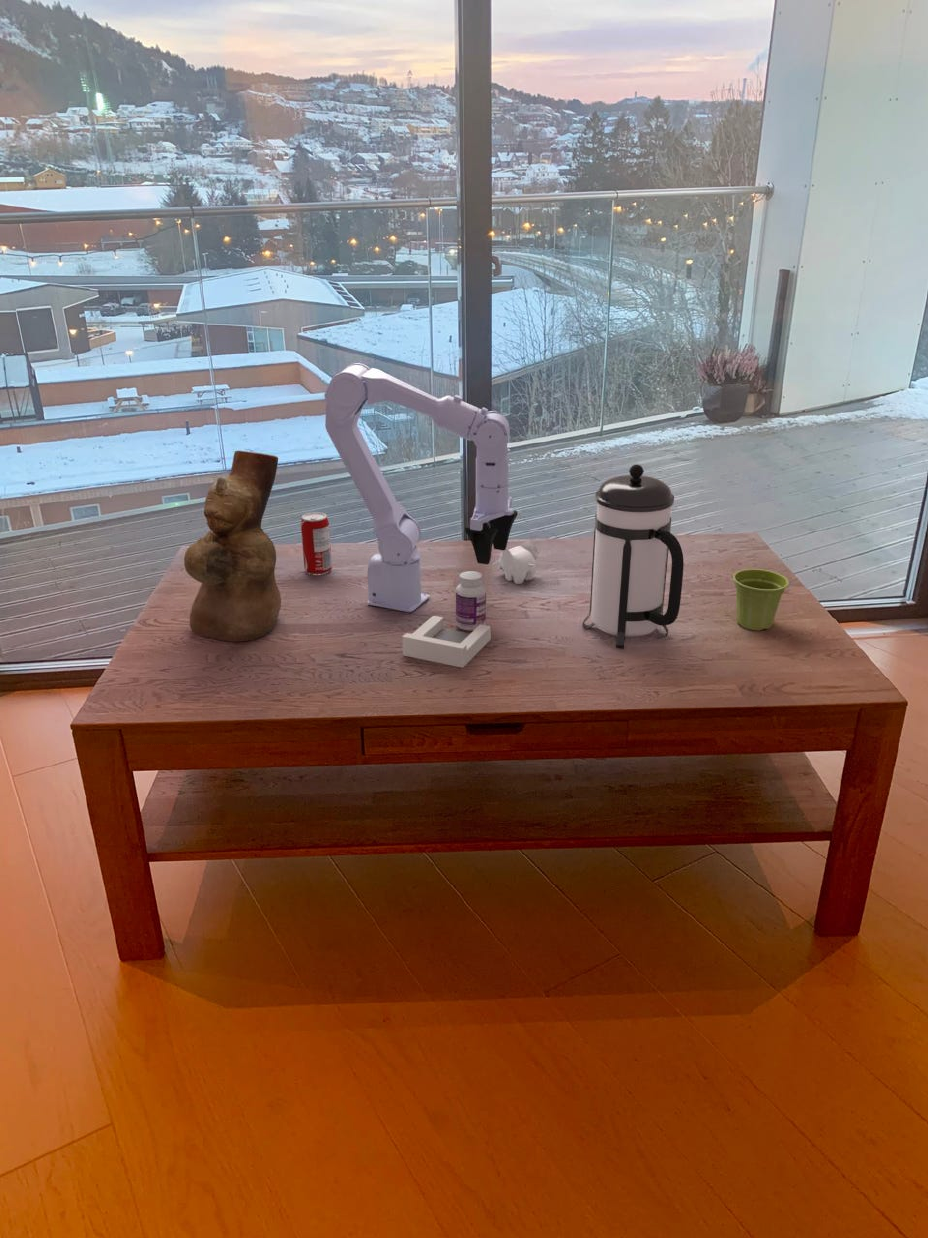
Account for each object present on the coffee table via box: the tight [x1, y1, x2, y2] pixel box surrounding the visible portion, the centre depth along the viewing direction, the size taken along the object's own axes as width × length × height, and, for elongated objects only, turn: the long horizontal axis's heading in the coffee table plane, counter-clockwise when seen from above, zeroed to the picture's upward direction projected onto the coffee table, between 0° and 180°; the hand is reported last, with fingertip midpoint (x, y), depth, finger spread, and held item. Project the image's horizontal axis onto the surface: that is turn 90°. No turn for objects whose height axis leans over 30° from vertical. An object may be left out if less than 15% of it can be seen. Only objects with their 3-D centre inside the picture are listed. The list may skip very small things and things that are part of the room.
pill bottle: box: [455, 570, 487, 632], centre depth 167 cm, size 5×5×10 cm
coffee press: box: [582, 464, 685, 650], centre depth 159 cm, size 17×16×30 cm
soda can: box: [300, 511, 333, 576], centre depth 190 cm, size 6×6×12 cm
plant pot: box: [732, 568, 790, 631], centre depth 167 cm, size 9×9×9 cm
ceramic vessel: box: [183, 450, 282, 643], centre depth 165 cm, size 16×22×30 cm
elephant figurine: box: [492, 540, 540, 585], centre depth 187 cm, size 8×10×7 cm
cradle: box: [401, 615, 492, 669], centre depth 160 cm, size 11×12×4 cm
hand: (491, 556), depth 172 cm, fingers open, 7 cm apart
